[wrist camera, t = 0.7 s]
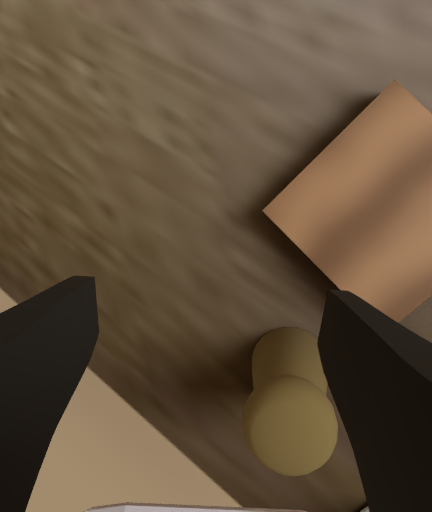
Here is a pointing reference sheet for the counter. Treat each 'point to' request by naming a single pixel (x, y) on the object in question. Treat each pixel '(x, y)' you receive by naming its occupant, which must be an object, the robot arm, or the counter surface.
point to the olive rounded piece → (289, 404)
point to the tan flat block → (369, 205)
